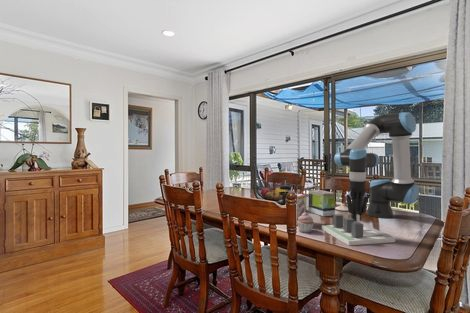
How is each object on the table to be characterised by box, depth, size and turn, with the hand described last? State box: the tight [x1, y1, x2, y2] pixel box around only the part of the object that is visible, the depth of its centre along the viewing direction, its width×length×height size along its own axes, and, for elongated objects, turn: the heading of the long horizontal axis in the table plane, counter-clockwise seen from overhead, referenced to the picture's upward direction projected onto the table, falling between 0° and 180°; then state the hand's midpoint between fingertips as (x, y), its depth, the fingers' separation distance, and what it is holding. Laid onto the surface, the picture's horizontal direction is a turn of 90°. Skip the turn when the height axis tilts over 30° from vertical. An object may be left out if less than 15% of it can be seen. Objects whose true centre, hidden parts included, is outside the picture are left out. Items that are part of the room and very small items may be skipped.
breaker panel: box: [321, 223, 396, 246], centre depth 135 cm, size 24×24×2 cm
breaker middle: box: [343, 217, 354, 232], centre depth 134 cm, size 4×3×6 cm
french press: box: [278, 176, 293, 205], centre depth 188 cm, size 12×9×23 cm
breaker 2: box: [351, 221, 364, 237], centre depth 126 cm, size 4×3×6 cm
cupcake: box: [296, 211, 315, 234], centre depth 141 cm, size 9×9×10 cm
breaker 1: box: [332, 214, 343, 227], centre depth 141 cm, size 4×3×6 cm
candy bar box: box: [296, 193, 308, 220], centre depth 155 cm, size 11×5×16 cm, turn 135°
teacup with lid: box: [335, 203, 352, 223], centre depth 155 cm, size 12×9×12 cm
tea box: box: [308, 189, 336, 217], centre depth 179 cm, size 15×10×15 cm, turn 23°
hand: (356, 227), depth 135 cm, fingers closed
